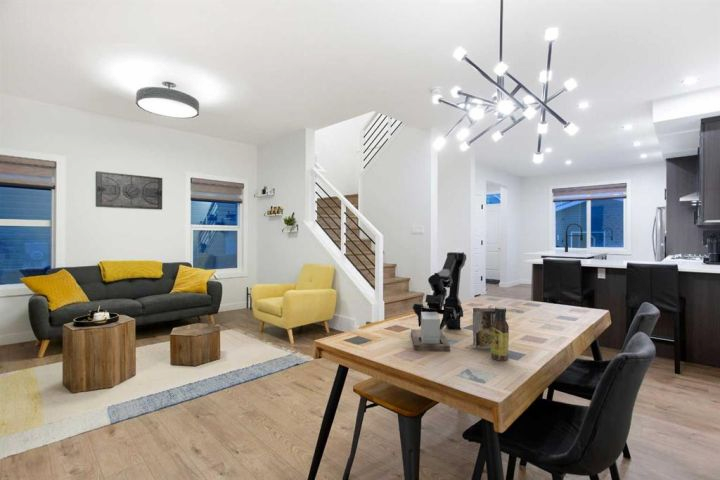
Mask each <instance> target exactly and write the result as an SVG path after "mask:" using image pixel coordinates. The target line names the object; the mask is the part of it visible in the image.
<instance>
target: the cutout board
mask: <svg viewBox="0 0 720 480" xmlns="http://www.w3.org/2000/svg"><path fill="white" fill-rule="evenodd" d="M410 331H411V332H410V334H411V337H412V338H411V339H412V344H413V348H414V349H413V350H414V351H435V352H436V351H437V352H439V351H440V352H450V351H451V346H450V343H449V342H448V340H447V338H446V336H445V334H444V332H443V329H441V330H440V344H422V340H421V329H411V330H410Z"/></svg>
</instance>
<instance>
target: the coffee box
mask: <svg viewBox="0 0 720 480" xmlns="http://www.w3.org/2000/svg"><path fill="white" fill-rule="evenodd" d="M494 320H495V308H494V307H473V308H472V345H473V346H474V348H475V349H478V350H491V330H492V323H493V322H494Z"/></svg>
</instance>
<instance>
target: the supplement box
mask: <svg viewBox="0 0 720 480" xmlns="http://www.w3.org/2000/svg"><path fill="white" fill-rule="evenodd" d="M439 315H440V314H438V312H421V326H420V330H421V340H422V342H421V344H440V324H441V318H440V316H439Z"/></svg>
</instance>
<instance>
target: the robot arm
mask: <svg viewBox="0 0 720 480" xmlns="http://www.w3.org/2000/svg"><path fill="white" fill-rule="evenodd" d="M466 261H467V254H465V252H464V251H449V252H447V253H446V259H445V262H444V263H443V266H442V269H441V270H440V271H438V272H434V273H433V274H432V275H430V276H429V277H428V284H429V286H430V288H431V291H433V293H432V294H426V296H425V301H424V302H425V303H426V306H427V307H425V306H424V304H423V303H413V305H412V310H413V312H414V314H415V315H416V316H417V319H418V321H417V322H418V324H417V325H418V327H420V328H421V312H438V315H442V318H441V320H440V330H443V329H444V327H446V328H447V329H448V330H449V329H450V330H462V327H461V318H464V310H463V306H462V301H461V300H460V297H459V292H460V282H461V274H462V273H461V271H462V269H463V267H464V266H465V264H466ZM447 288H449V290H447ZM448 291H449V293H448V294H449V295H447V292H448Z"/></svg>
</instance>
